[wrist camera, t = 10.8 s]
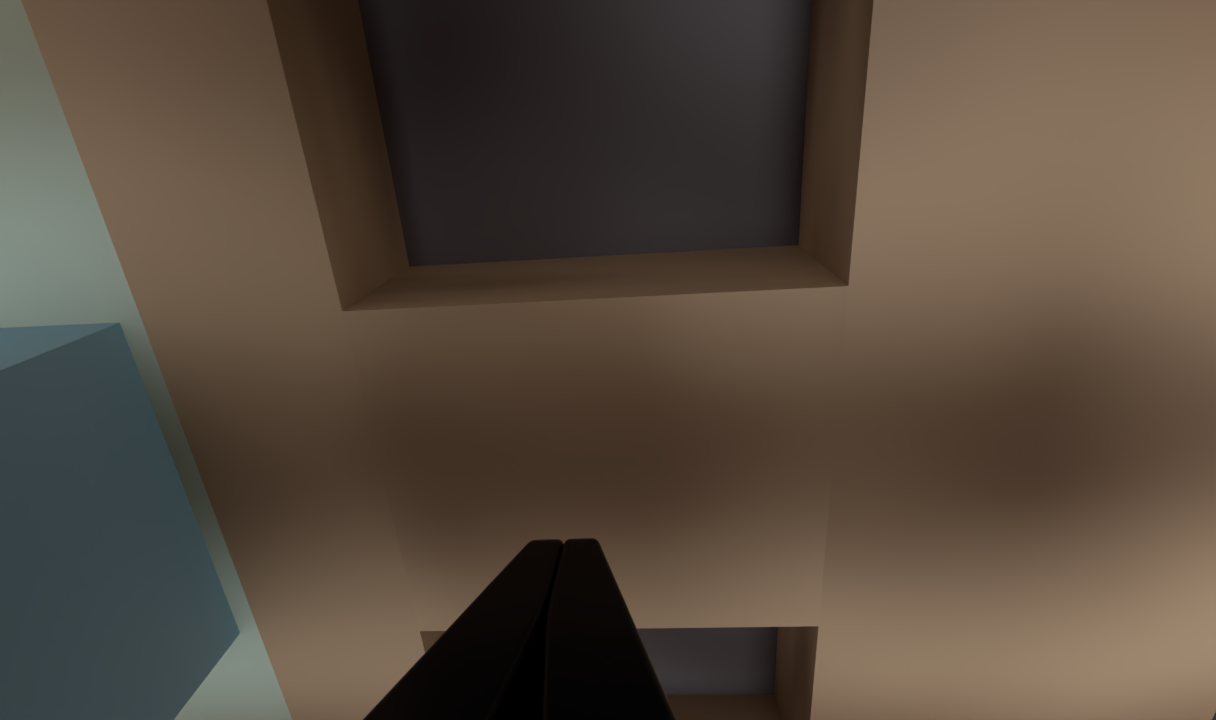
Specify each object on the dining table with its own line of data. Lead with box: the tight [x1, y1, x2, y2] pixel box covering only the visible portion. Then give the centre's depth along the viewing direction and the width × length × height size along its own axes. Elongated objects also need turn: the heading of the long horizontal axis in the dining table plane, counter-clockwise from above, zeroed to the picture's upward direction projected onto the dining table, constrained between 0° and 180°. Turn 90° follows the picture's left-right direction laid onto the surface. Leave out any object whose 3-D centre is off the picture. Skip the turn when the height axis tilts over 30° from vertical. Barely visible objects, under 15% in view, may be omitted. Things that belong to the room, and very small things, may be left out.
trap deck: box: [0, 0, 1216, 720], centre depth 10 cm, size 17×29×5 cm, turn 94°
